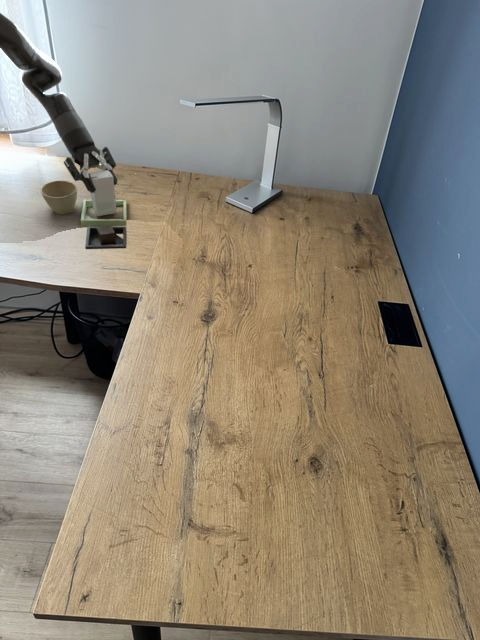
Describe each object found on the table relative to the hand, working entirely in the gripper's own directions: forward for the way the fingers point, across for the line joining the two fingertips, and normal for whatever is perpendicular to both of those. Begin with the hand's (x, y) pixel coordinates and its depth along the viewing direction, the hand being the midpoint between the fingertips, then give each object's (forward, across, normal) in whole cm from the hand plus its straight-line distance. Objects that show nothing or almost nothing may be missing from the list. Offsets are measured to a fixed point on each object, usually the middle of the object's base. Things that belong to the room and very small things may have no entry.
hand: (104, 187), depth 144 cm
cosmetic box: (+5, 0, +7) cm, 9 cm away
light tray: (+6, 0, +8) cm, 10 cm away
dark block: (+14, -9, -1) cm, 17 cm away
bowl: (-1, -7, +16) cm, 17 cm away
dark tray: (+15, -9, -1) cm, 17 cm away
